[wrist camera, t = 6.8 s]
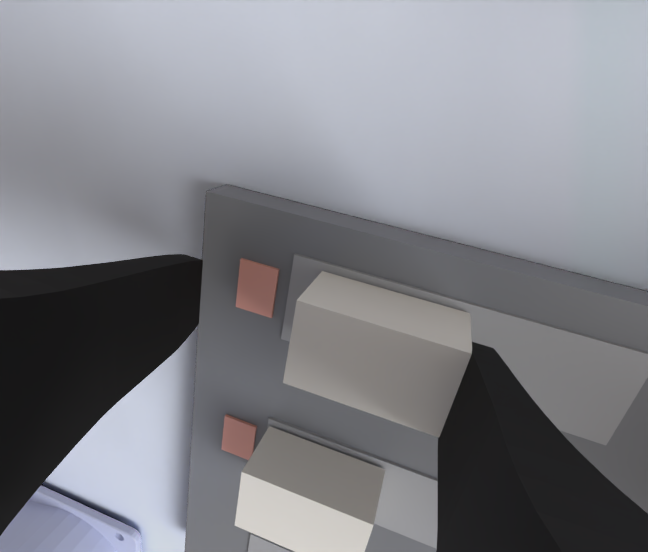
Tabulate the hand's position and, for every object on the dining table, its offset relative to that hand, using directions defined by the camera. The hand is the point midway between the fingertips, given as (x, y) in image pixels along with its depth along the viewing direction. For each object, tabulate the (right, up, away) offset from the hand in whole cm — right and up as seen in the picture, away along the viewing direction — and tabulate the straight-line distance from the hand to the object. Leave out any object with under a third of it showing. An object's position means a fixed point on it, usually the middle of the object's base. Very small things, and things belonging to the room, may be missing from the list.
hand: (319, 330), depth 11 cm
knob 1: (+2, 0, +1) cm, 2 cm away
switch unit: (+3, -5, +4) cm, 7 cm away
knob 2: (0, -5, +3) cm, 6 cm away
